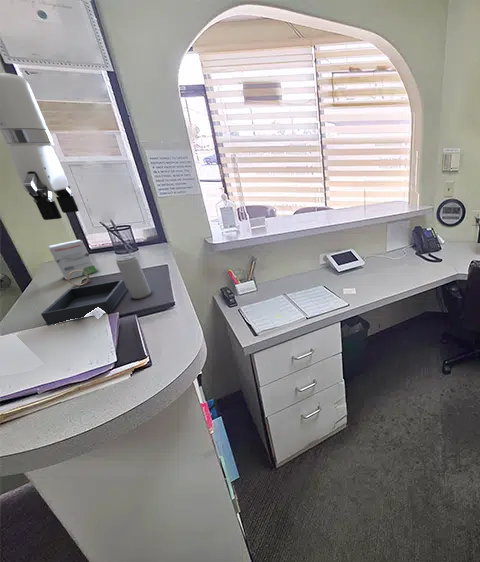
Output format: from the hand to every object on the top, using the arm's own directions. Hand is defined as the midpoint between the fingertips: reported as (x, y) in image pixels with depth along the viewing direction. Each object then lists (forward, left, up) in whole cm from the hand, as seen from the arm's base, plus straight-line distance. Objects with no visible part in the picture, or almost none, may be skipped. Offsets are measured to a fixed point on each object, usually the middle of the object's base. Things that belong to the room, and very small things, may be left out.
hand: (62, 215), depth 76 cm
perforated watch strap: (-13, +23, -26) cm, 36 cm away
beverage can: (+8, +2, -26) cm, 27 cm away
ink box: (-17, +35, -26) cm, 46 cm away
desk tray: (-4, +2, -25) cm, 26 cm away
